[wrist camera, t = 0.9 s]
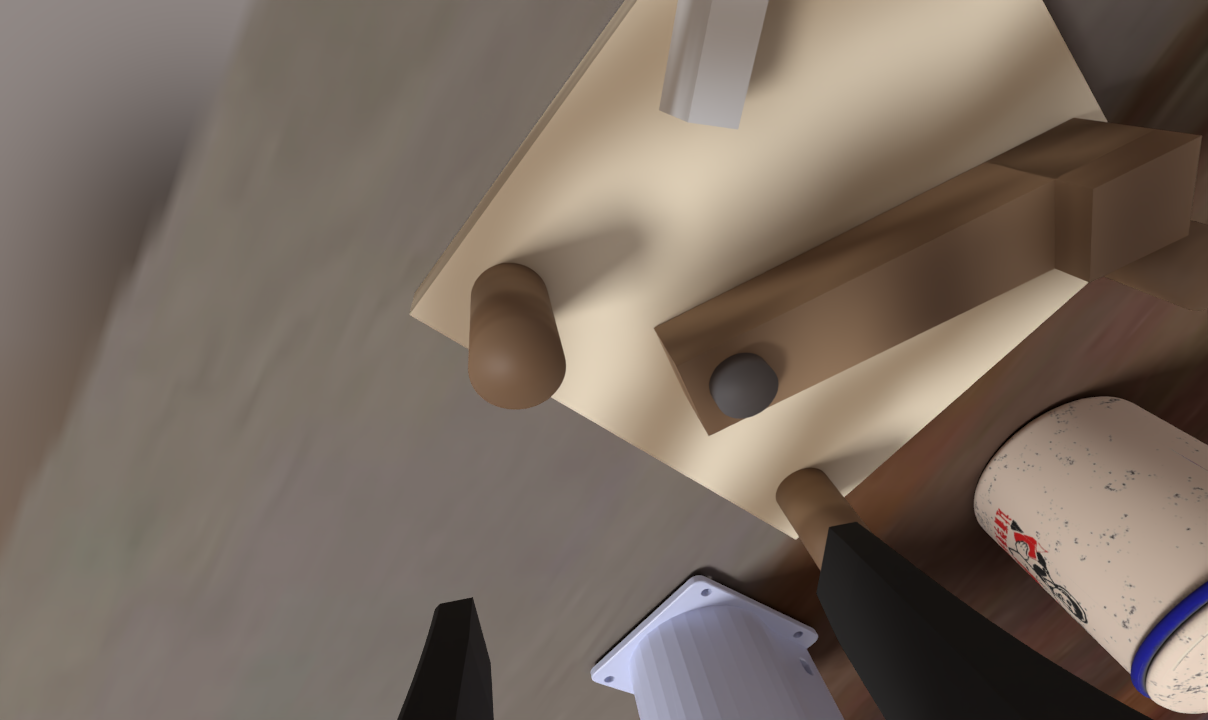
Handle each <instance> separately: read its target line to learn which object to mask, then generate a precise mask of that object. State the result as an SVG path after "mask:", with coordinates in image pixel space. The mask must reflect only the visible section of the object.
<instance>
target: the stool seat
mask: <svg viewBox="0 0 1208 720" xmlns="http://www.w3.org/2000/svg"><path fill="white" fill-rule="evenodd" d="M1072 118H1080V119H1088V120H1095V121H1102V122H1107V120H1106V118H1105V116H1104V114H1103V112H1102V110H1101V109H1100V107H1099V105H1098V103H1097V101H1096V99H1095V97H1094V96H1093V94H1092V92H1091V90H1090V88H1089V86H1088V84H1087V82H1086V81H1085V79H1084V77H1083V75H1082V73H1081V71H1080V69H1079V68H1078V66H1077V64H1076V62H1075V60H1074V58H1073V56H1072V54H1071V53H1070V51H1069V49H1068V47H1067V45H1066V43H1065V41H1064V40H1063V38H1062V36H1061V34H1060V32H1059V30H1058V28H1057V27H1056V25H1055V23H1054V21H1053V19H1052V17H1051V15H1050V13H1049V12H1048V10H1047V8H1046V6H1045V4H1044V2H1043V0H625V1H624V2H623V4H622V5H621V6H620V8H619V9H618V11H617V12H616V13H615V15H614V16H613V18H612V19H611V20H610V22H609V23H608V25H607V26H606V27H605V29H604V30H603V32H602V33H601V34H600V36H599V37H598V39H597V40H596V41H595V43H594V44H593V45H592V47H591V48H590V50H589V51H588V52H587V54H586V55H585V57H584V58H583V59H582V61H581V62H580V64H579V65H578V66H577V68H576V69H575V71H574V72H573V73H572V75H571V76H570V78H569V79H568V80H567V82H566V83H565V84H564V86H563V87H562V89H561V90H560V91H559V93H558V94H557V96H556V97H555V98H554V100H553V101H552V103H551V104H550V105H549V107H548V108H547V110H546V111H545V112H544V114H543V115H542V117H541V118H540V119H539V121H538V122H537V123H536V125H535V126H534V128H533V129H532V130H531V132H530V133H529V135H528V136H527V137H526V139H525V140H524V142H523V143H522V144H521V146H520V147H519V149H518V150H517V151H516V153H515V154H514V156H513V157H512V158H511V160H510V161H509V163H508V164H507V165H506V167H505V168H504V169H503V171H502V172H501V174H500V175H499V176H498V178H497V179H496V181H495V182H494V183H493V185H492V186H491V188H490V189H489V190H488V192H487V193H486V195H485V196H484V197H483V199H482V200H481V202H480V203H479V204H478V206H477V207H476V208H475V210H474V211H473V213H472V214H471V215H470V217H469V218H468V220H467V221H466V222H465V224H464V225H463V227H462V228H461V229H460V231H459V232H458V234H457V235H456V236H455V238H454V239H453V241H452V242H451V243H450V245H449V246H448V247H447V249H446V250H445V252H444V253H443V254H442V256H441V257H440V259H439V260H438V261H437V263H436V264H435V266H434V267H433V268H432V270H431V271H430V273H429V274H428V275H427V277H426V278H425V280H424V281H423V282H422V284H421V285H420V286H419V288H418V289H417V291H416V292H415V295H414V299H413V303H412V307H411V311H410V315H411V316H413V317H414V318H416V319H418V320H419V321H421V322H423V323H425V324H426V325H428V326H430V327H431V328H433V329H435V330H437V331H438V332H440V333H442V334H443V335H445V336H447V337H449V338H450V339H452V340H454V341H456V342H457V343H459V344H461V345H462V346H464V347H466V348H468V349H469V360H468V373H469V378H470V381H471V384H472V386H473V388H474V389H475V391H476V392H477V393H478V394H479V395H480V396H481V397H482V398H483V399H484V400H486V401H487V402H489V403H491V404H493V405H495V406H498V407H501V408H506V409H526V408H530V407H533V406H536V405H538V404H541V403H543V402H544V401H546V400H547V399H549V398H550V397H552V398H553V399H555V400H557V401H559V402H560V403H562V404H564V405H565V406H567V407H569V408H571V409H572V410H574V411H576V412H577V413H579V414H581V415H583V416H584V417H586V418H588V419H590V420H591V421H593V422H595V423H596V424H598V425H600V426H602V427H603V428H605V429H607V430H608V431H610V432H612V433H614V434H615V435H617V436H619V437H620V438H622V439H624V440H626V441H627V442H629V443H631V444H632V445H634V446H636V447H638V448H639V449H641V450H643V451H644V452H646V453H648V454H650V455H651V456H653V457H655V458H657V459H658V460H660V461H662V462H663V463H665V464H667V465H669V466H670V467H672V468H674V469H675V470H677V471H679V472H681V473H682V474H684V475H686V476H687V477H689V478H691V479H693V480H694V481H696V482H698V483H699V484H701V485H703V486H705V487H706V488H708V489H710V490H712V491H713V492H715V493H717V494H718V495H720V496H722V497H724V498H725V499H727V500H729V501H730V502H732V503H734V504H736V505H737V506H739V507H741V508H742V509H744V510H746V511H748V512H749V513H751V514H753V515H754V516H756V517H758V518H760V519H761V520H763V521H765V522H766V523H768V524H770V525H772V526H773V527H775V528H777V529H779V530H780V531H782V532H784V533H785V534H787V535H789V536H791V537H792V538H794V539H797V538H798V537H799V538H800V539H801V541H802V543H803V544H804V546H805V547H806V549H807V550H808V552H809V554H810V555H811V557H812V558H813V560H814V561H815V563H816V565H817V566H818V568H819V569H820V571H821V566H822V561H823V556H824V550H825V545H826V539H827V534H828V529H829V527H831V526H836V525H841V524H846V523H852V522H858V523H859V524H860V525H862V526H863V527H864V528H866V529H867V530H868V531H870V530H869V528H868V527H867V526H866V525H865V523H864V522H863V521H862V519H861V518H860V517H859V516H858V514H857V513H856V512H855V511H854V509H853V508H852V507H851V506H850V504H849V503H848V502H847V500H846V499H845V498H844V497H845V496H846V495H847V494H848V493H849V492H850V491H852V490H853V489H854V488H855V487H856V486H857V485H858V484H860V483H861V482H862V481H863V480H864V479H865V478H866V477H868V476H869V475H870V474H871V473H872V472H873V471H874V470H876V469H877V468H878V467H879V466H880V465H881V464H882V463H883V462H885V461H886V460H887V459H888V458H889V457H890V456H891V455H893V454H894V453H895V452H896V451H897V450H898V449H899V448H901V447H902V446H903V445H904V444H905V443H906V442H907V441H909V440H910V439H911V438H912V437H913V436H914V435H915V434H917V433H918V432H919V431H920V430H921V429H922V428H923V427H924V426H926V425H927V424H928V423H929V422H930V421H931V420H932V419H934V418H935V417H936V416H937V415H938V414H939V413H940V412H942V411H943V410H944V409H945V408H946V407H947V406H948V405H950V404H951V403H952V402H953V401H954V400H955V399H956V398H957V397H959V396H960V395H961V394H962V393H963V392H964V391H965V390H967V389H968V388H969V387H970V386H971V385H972V384H973V383H975V382H976V381H977V380H978V379H979V378H980V377H981V376H983V375H984V374H985V373H986V372H987V371H988V370H989V369H990V368H992V367H993V366H994V365H995V364H996V363H997V362H998V361H1000V360H1001V359H1002V358H1003V357H1004V356H1005V355H1006V354H1008V353H1009V352H1010V351H1011V350H1012V349H1013V348H1014V347H1016V346H1017V345H1018V344H1019V343H1020V342H1021V341H1022V340H1024V339H1025V338H1026V337H1027V336H1028V335H1029V334H1030V333H1031V332H1033V331H1034V330H1035V329H1036V328H1037V327H1038V326H1039V325H1041V324H1042V323H1043V322H1044V321H1045V320H1046V319H1047V318H1049V317H1050V316H1051V315H1052V314H1053V313H1054V312H1055V311H1057V310H1058V309H1059V308H1060V307H1061V306H1062V305H1063V304H1064V303H1066V302H1067V301H1068V300H1069V299H1070V298H1071V297H1072V296H1074V295H1075V294H1076V293H1077V292H1078V291H1079V290H1080V289H1082V288H1083V287H1084V286H1085V285H1086V284H1087V283H1088V282H1087V281H1084V280H1082V279H1079V278H1077V277H1074V276H1072V275H1069V274H1067V273H1065V272H1062V271H1060V270H1057V269H1053V270H1051V271H1049V272H1047V273H1045V274H1043V275H1041V276H1039V277H1036V278H1034V279H1032V280H1030V281H1028V282H1026V283H1024V284H1022V285H1020V286H1018V287H1016V288H1014V289H1012V290H1010V291H1008V292H1006V293H1003V294H1001V295H999V296H997V297H995V298H993V299H991V300H989V301H987V302H985V303H983V304H981V305H979V306H977V307H975V308H973V309H970V310H968V311H966V312H964V313H962V314H960V315H958V316H956V317H954V318H952V319H950V320H948V321H946V322H944V323H942V324H940V325H937V326H935V327H933V328H931V329H929V330H927V331H925V332H923V333H921V334H919V335H917V336H915V337H913V338H911V339H909V340H906V341H904V342H902V343H900V344H898V345H896V346H894V347H892V348H890V349H888V350H886V351H884V352H882V353H880V354H878V355H876V356H873V357H871V358H869V359H867V360H865V361H863V362H861V363H859V364H857V365H855V366H853V367H851V368H849V369H847V370H845V371H843V372H840V373H838V374H836V375H834V376H832V377H830V378H828V379H826V380H824V381H822V382H820V383H818V384H816V385H814V386H812V387H810V388H807V389H805V390H803V391H801V392H799V393H797V394H795V395H793V396H791V397H789V398H787V399H785V400H783V401H781V402H779V403H776V404H774V405H772V406H770V407H768V408H766V409H765V410H763V411H762V412H760V413H759V414H757V415H755V416H752V417H749V418H746V419H743V420H741V421H739V422H737V423H735V424H733V425H731V426H729V427H727V428H725V429H723V430H721V431H719V432H717V433H715V434H713V435H710V436H708V434H707V432H706V431H705V429H704V427H703V425H702V424H701V422H700V420H699V418H698V417H697V415H696V413H695V411H694V410H693V408H692V406H691V404H690V403H689V401H688V399H687V397H686V396H685V394H684V392H683V390H682V387H681V385H680V383H679V381H678V379H677V377H676V375H675V373H674V370H673V368H672V366H671V364H670V362H669V360H668V358H667V355H666V353H665V351H664V349H663V347H662V345H661V343H660V340H659V338H658V336H657V334H656V332H655V330H654V328H655V327H657V326H659V325H661V324H663V323H665V322H667V321H669V320H671V319H673V318H675V317H677V316H679V315H681V314H683V313H685V312H687V311H689V310H691V309H693V308H695V307H697V306H699V305H701V304H703V303H705V302H707V301H709V300H711V299H713V298H715V297H717V296H719V295H721V294H723V293H725V292H727V291H729V290H731V289H733V288H735V287H737V286H739V285H741V284H743V283H745V282H747V281H749V280H751V279H753V278H755V277H757V276H759V275H761V274H763V273H765V272H767V271H769V270H771V269H773V268H775V267H777V266H779V265H781V264H783V263H785V262H787V261H789V260H791V259H793V258H795V257H797V256H799V255H801V254H803V253H805V252H807V251H809V250H811V249H813V248H815V247H817V246H819V245H821V244H823V243H825V242H827V241H829V240H831V239H833V238H835V237H837V236H839V235H840V234H842V233H844V232H846V231H848V230H850V229H852V228H854V227H856V226H858V225H860V224H862V223H864V222H866V221H868V220H870V219H872V218H874V217H876V216H878V215H880V214H882V213H884V212H886V211H888V210H890V209H892V208H894V207H896V206H898V205H900V204H902V203H904V202H906V201H908V200H910V199H912V198H914V197H916V196H918V195H920V194H922V193H924V192H926V191H928V190H930V189H932V188H934V187H936V186H938V185H940V184H942V183H944V182H946V181H948V180H950V179H952V178H954V177H956V176H958V175H960V174H962V173H964V172H966V171H968V170H970V169H972V168H974V167H976V166H978V165H980V164H982V163H984V162H986V161H988V160H990V159H992V158H994V157H996V156H998V155H1000V154H1002V153H1004V152H1006V151H1008V150H1010V149H1012V148H1014V147H1016V146H1018V145H1020V144H1022V143H1024V142H1026V141H1028V140H1030V139H1032V138H1034V137H1036V136H1038V135H1040V134H1042V133H1044V132H1046V131H1048V130H1050V129H1052V128H1054V127H1056V126H1058V125H1060V124H1062V123H1064V122H1066V121H1068V120H1070V119H1072ZM1103 277H1106V278H1108V279H1111V280H1114V281H1116V282H1119V283H1121V284H1124V285H1126V286H1129V287H1132V288H1134V289H1137V290H1139V291H1142V292H1145V293H1147V294H1150V295H1152V296H1155V297H1157V298H1160V299H1163V300H1165V301H1168V302H1170V303H1173V304H1175V305H1178V306H1181V307H1183V308H1186V309H1188V310H1192V311H1202V310H1206V309H1208V225H1207V224H1203V223H1199V222H1196V221H1192V220H1191V221H1190V228H1189V235H1188V236H1186V237H1184V238H1182V239H1180V240H1178V241H1176V242H1174V243H1171V244H1169V245H1167V246H1165V247H1163V248H1161V249H1159V250H1157V251H1155V252H1153V253H1151V254H1149V255H1146V256H1144V257H1142V258H1140V259H1138V260H1136V261H1134V262H1132V263H1130V264H1128V265H1126V266H1124V267H1122V268H1119V269H1117V270H1115V271H1113V272H1111V273H1109V274H1107V275H1105V276H1103ZM870 532H871V531H870ZM871 533H872V532H871ZM872 534H873V533H872Z"/></svg>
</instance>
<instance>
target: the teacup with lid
mask: <svg viewBox="0 0 1208 720" xmlns="http://www.w3.org/2000/svg"><path fill="white" fill-rule="evenodd" d="M974 511H975V515H976V518H977V521H978V522H979V524H980V526H981V527H982V528H983V529H984V530H985V531H986V532H987V533H988V534H989V535H990V536H991V537H992V538H993V539H994V540H995V541H996V542H997V543H998V544H999V545H1000V546H1001V547H1002V548H1003V549H1004V550H1005V551H1006V552H1007V553H1008V554H1009V555H1010V556H1011V557H1012V558H1013V559H1014V560H1015V561H1016V562H1017V563H1018V564H1019V565H1020V566H1021V567H1022V568H1023V569H1024V570H1025V571H1026V572H1027V573H1028V574H1029V575H1030V576H1031V577H1032V578H1033V579H1034V580H1035V581H1036V582H1037V583H1038V584H1039V585H1040V586H1041V587H1042V588H1044V589H1045V590H1046V591H1047V592H1048V593H1049V594H1050V595H1051V596H1052V597H1053V598H1054V599H1055V600H1056V601H1057V602H1058V603H1059V604H1060V605H1061V606H1062V607H1063V608H1064V609H1065V610H1066V611H1067V612H1068V613H1069V614H1070V615H1071V616H1072V617H1073V618H1074V619H1075V620H1076V621H1077V622H1078V623H1079V624H1080V625H1081V626H1082V627H1083V628H1084V629H1085V630H1086V631H1087V632H1088V633H1089V634H1090V635H1091V636H1092V637H1093V638H1094V639H1095V640H1096V641H1097V642H1098V643H1099V644H1100V645H1101V646H1103V647H1104V648H1105V649H1106V650H1107V651H1108V652H1109V653H1110V654H1111V655H1112V656H1113V657H1114V658H1115V659H1116V660H1117V661H1118V662H1119V663H1120V664H1121V665H1122V666H1123V667H1124V668H1125V669H1126V670H1127V671H1128V672H1129V673H1130V674H1131V680H1132V683H1133V685H1134V686H1135V688H1136V689H1137V690H1138V691H1139V692H1140V693H1141V694H1143V695H1144V696H1146V697H1148V698H1150V699H1152V700H1153V701H1155V702H1156V703H1157V704H1159V705H1161V706H1163V707H1165V708H1168V709H1170V710H1173V711H1177V712H1181V713H1206V712H1208V445H1206V444H1204V443H1203V442H1201V441H1199V440H1197V439H1196V438H1194V437H1192V436H1190V435H1189V434H1187V433H1185V432H1183V431H1181V430H1180V429H1178V428H1176V427H1174V426H1173V425H1171V424H1169V423H1167V422H1166V421H1164V420H1162V419H1160V418H1158V417H1157V416H1155V415H1153V414H1151V413H1150V412H1148V411H1146V410H1144V409H1142V408H1141V407H1139V406H1137V405H1135V404H1134V403H1132V402H1129V401H1127V400H1124V399H1121V398H1116V397H1108V396H1100V397H1089V398H1084V399H1080V400H1076V401H1072V402H1069V403H1067V404H1064V405H1062V406H1059V407H1057V408H1054V409H1052V410H1050V411H1048V412H1046V413H1045V414H1043V415H1041V416H1039V417H1038V418H1036V419H1034V420H1033V421H1031V422H1030V423H1028V424H1027V425H1026V426H1024V427H1023V428H1022V429H1020V430H1019V431H1018V432H1017V433H1015V434H1014V435H1013V436H1012V437H1011V438H1010V439H1009V440H1008V441H1007V442H1006V443H1005V444H1004V445H1003V446H1002V447H1001V448H1000V449H999V450H998V451H997V453H996V454H995V455H994V456H993V458H992V459H991V460H990V462H989V463H988V465H987V466H986V468H985V470H984V471H983V473H982V475H981V477H980V479H979V482H978V484H977V487H976V491H975V495H974Z"/></svg>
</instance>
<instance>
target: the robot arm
mask: <svg viewBox="0 0 1208 720" xmlns="http://www.w3.org/2000/svg"><path fill="white" fill-rule="evenodd" d="M817 596H818V598H819V600H820V602H821V605H822V607H823V609H824V611H825V613H826V616H827V618H828V620H829V622H830V624H831V626H832V628H833V631H834V633H835V635H836V637H837V639H838V641H839V643H840V645H841V646H842V648H843V650H844V652H845V653H846V655H847V657H848V658H849V660H850V662H851V663H852V665H853V667H854V668H855V670H856V671H857V673H858V675H859V676H860V678H861V680H862V681H863V683H864V685H865V686H866V688H867V690H868V691H869V693H870V695H871V696H872V698H873V699H874V701H875V703H876V704H877V706H878V708H879V709H880V711H881V712H882V714H883V716H884V717H885V719H886V720H1153V719H1151V718H1149V717H1147V716H1145V715H1143V714H1142V713H1140V712H1138V711H1136V710H1134V709H1132V708H1130V707H1129V706H1127V705H1125V704H1123V703H1121V702H1120V701H1118V700H1116V699H1114V698H1113V697H1111V696H1109V695H1107V694H1105V693H1104V692H1102V691H1100V690H1098V689H1097V688H1095V687H1093V686H1092V685H1090V684H1088V683H1087V682H1085V681H1083V680H1082V679H1080V678H1078V677H1077V676H1075V675H1073V674H1072V673H1070V672H1068V671H1067V670H1065V669H1063V668H1062V667H1060V666H1058V665H1057V664H1055V663H1053V662H1052V661H1050V660H1049V659H1047V658H1045V657H1044V656H1042V655H1041V654H1039V653H1038V652H1036V651H1034V650H1033V649H1031V648H1030V647H1028V646H1027V645H1025V644H1024V643H1022V642H1021V641H1019V640H1018V639H1016V638H1015V637H1013V636H1012V635H1010V634H1009V633H1007V632H1006V631H1004V630H1003V629H1001V628H1000V627H998V626H997V625H995V624H994V623H992V622H991V621H989V620H988V619H987V618H985V617H984V616H982V615H981V614H979V613H978V612H977V611H975V610H974V609H972V608H971V607H969V606H968V605H967V604H965V603H964V602H963V601H961V600H960V599H958V598H957V597H956V596H954V595H953V594H952V593H950V592H949V591H947V590H946V589H945V588H943V587H942V586H941V585H939V584H938V583H937V582H935V581H934V580H933V579H931V578H930V577H928V576H927V575H926V574H924V573H923V572H922V571H921V570H919V569H918V568H917V567H915V566H914V565H913V564H911V563H910V562H909V561H907V560H906V559H905V558H903V557H902V556H901V555H900V554H898V553H897V552H896V551H894V550H893V549H892V548H890V547H889V546H888V545H887V544H885V543H884V542H883V541H881V540H880V539H879V538H878V537H876V536H875V535H874V534H872V533H871V532H870V531H868V530H867V529H866V528H864V527H863V526H862V525H860V524H859V523H858V522H852V523H846V524H841V525H836V526H831V527H829V529H828V534H827V539H826V545H825V550H824V556H823V561H822V566H821V572H820V577H819V582H818V588H817ZM817 639H818V634H817V633H816V631H815V629H813V628H811V627H809V626H807V625H805V624H803V623H801V622H799V621H797V620H795V619H793V618H791V617H788V616H786V615H784V614H782V613H780V612H778V611H776V610H774V609H772V608H770V607H768V606H765V605H763V604H761V603H759V602H757V601H755V600H753V599H751V598H749V597H747V596H745V595H742V594H740V593H738V592H736V591H734V590H732V589H730V588H728V587H726V586H724V585H722V584H720V583H717V582H715V581H713V580H711V579H709V578H707V577H705V576H702V575H696V576H693V577H692V578H690V579H689V580H688V581H687V582H686V583H684V584H683V585H682V586H681V587H680V588H679V589H678V590H677V591H676V592H675V593H674V594H672V595H671V596H670V597H669V598H668V599H667V600H666V601H665V602H664V603H663V604H662V605H660V606H659V607H658V608H657V609H656V610H655V611H654V612H653V613H652V614H651V615H650V616H648V617H647V618H646V619H645V620H644V621H643V622H642V623H641V624H640V625H639V626H638V627H636V628H635V629H634V630H633V631H632V632H631V633H630V634H629V635H628V636H627V637H626V638H625V639H623V640H622V641H621V642H620V643H619V644H618V645H617V646H616V647H615V648H614V649H613V650H611V651H610V652H609V653H608V654H607V655H606V656H605V657H604V658H603V659H602V660H601V661H599V662H598V663H597V664H596V665H595V666H594V667H593V668H592V669H591V677H592V680H593V681H595V682H597V683H600V684H603V685H607V686H610V687H613V688H616V689H619V690H622V691H625V692H629V693H632V694H634V695H635V699H636V703H637V707H638V712H639V716H640V720H844V718H843V716H842V714H841V713H840V711H839V709H838V707H837V705H836V703H835V701H834V699H833V698H832V696H831V694H830V692H829V690H828V688H827V686H826V684H825V683H824V681H823V679H822V677H821V675H820V673H819V671H818V669H817V667H816V666H815V664H814V662H813V660H812V658H811V656H810V654H809V652H808V651H807V648H808V647H810V646H811V645H812V644H813V643H815V642H816V641H817ZM397 720H494V718H493V697H492V679H491V663H490V659H489V655H488V652H487V648H486V644H485V641H484V637H483V633H482V630H481V626H480V622H479V619H478V615H477V611H476V608H475V604H474V600H473V597H472V598H467V599H462V600H457V601H452V602H447V603H442V604H439V606H438V607H437V608H436V609H435V611H434V615H433V619H432V623H431V626H430V629H429V633H428V636H427V639H426V643H425V646H424V649H423V652H422V655H421V658H420V661H419V664H418V666H417V669H416V672H415V675H414V678H413V681H412V683H411V686H410V689H409V691H408V694H407V696H406V699H405V701H404V704H403V707H402V709H401V712H400V714H399V717H398V719H397Z"/></svg>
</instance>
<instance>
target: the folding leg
mask: <svg viewBox="0 0 1208 720" xmlns="http://www.w3.org/2000/svg"><path fill="white" fill-rule="evenodd" d="M1201 141H1202V135H1195V134H1188V133H1181V132H1173V131H1166V130H1159V129H1152V128H1145V127H1138V126H1130V125H1123V124H1116V123H1109V122H1102V121H1095V120H1088V119H1080V118H1072V119H1070V120H1068V121H1066V122H1064V123H1062V124H1060V125H1058V126H1056V127H1054V128H1052V129H1050V130H1048V131H1046V132H1044V133H1042V134H1040V135H1038V136H1036V137H1034V138H1032V139H1030V140H1028V141H1026V142H1024V143H1022V144H1020V145H1018V146H1016V147H1014V148H1012V149H1010V150H1008V151H1006V152H1004V153H1002V154H1000V155H998V156H996V157H994V158H992V159H990V160H988V161H986V162H984V163H982V164H980V165H978V166H976V167H974V168H972V169H970V170H968V171H966V172H964V173H962V174H960V175H958V176H956V177H954V178H952V179H950V180H948V181H946V182H944V183H942V184H940V185H938V186H936V187H934V188H932V189H930V190H928V191H926V192H924V193H922V194H920V195H918V196H916V197H914V198H912V199H910V200H908V201H906V202H904V203H902V204H900V205H898V206H896V207H894V208H892V209H890V210H888V211H886V212H884V213H882V214H880V215H878V216H876V217H874V218H872V219H870V220H868V221H866V222H864V223H862V224H860V225H858V226H856V227H854V228H852V229H850V230H848V231H846V232H844V233H842V234H840V235H839V236H837V237H835V238H833V239H831V240H829V241H827V242H825V243H823V244H821V245H819V246H817V247H815V248H813V249H811V250H809V251H807V252H805V253H803V254H801V255H799V256H797V257H795V258H793V259H791V260H789V261H787V262H785V263H783V264H781V265H779V266H777V267H775V268H773V269H771V270H769V271H767V272H765V273H763V274H761V275H759V276H757V277H755V278H753V279H751V280H749V281H747V282H745V283H743V284H741V285H739V286H737V287H735V288H733V289H731V290H729V291H727V292H725V293H723V294H721V295H719V296H717V297H715V298H713V299H711V300H709V301H707V302H705V303H703V304H701V305H699V306H697V307H695V308H693V309H691V310H689V311H687V312H685V313H683V314H681V315H679V316H677V317H675V318H673V319H671V320H669V321H667V322H665V323H663V324H661V325H659V326H657V327H655V328H654V330H655V332H656V334H657V336H658V338H659V340H660V343H661V345H662V347H663V349H664V351H665V353H666V355H667V358H668V360H669V362H670V364H671V366H672V368H673V370H674V373H675V375H676V377H677V379H678V381H679V383H680V385H681V387H682V390H683V392H684V394H685V396H686V397H687V399H688V401H689V403H690V404H691V406H692V408H693V410H694V411H695V413H696V415H697V417H698V418H699V420H700V422H701V424H702V425H703V427H704V429H705V431H706V432H707V434H708V436H710V435H713V434H715V433H717V432H719V431H721V430H723V429H725V428H727V427H729V426H731V425H733V424H735V423H737V422H739V421H741V420H743V419H746V418H749V417H752V416H755V415H757V414H759V413H760V412H762V411H763V410H765V409H766V408H768V407H770V406H772V405H774V404H776V403H779V402H781V401H783V400H785V399H787V398H789V397H791V396H793V395H795V394H797V393H799V392H801V391H803V390H805V389H807V388H810V387H812V386H814V385H816V384H818V383H820V382H822V381H824V380H826V379H828V378H830V377H832V376H834V375H836V374H838V373H840V372H843V371H845V370H847V369H849V368H851V367H853V366H855V365H857V364H859V363H861V362H863V361H865V360H867V359H869V358H871V357H873V356H876V355H878V354H880V353H882V352H884V351H886V350H888V349H890V348H892V347H894V346H896V345H898V344H900V343H902V342H904V341H906V340H909V339H911V338H913V337H915V336H917V335H919V334H921V333H923V332H925V331H927V330H929V329H931V328H933V327H935V326H937V325H940V324H942V323H944V322H946V321H948V320H950V319H952V318H954V317H956V316H958V315H960V314H962V313H964V312H966V311H968V310H970V309H973V308H975V307H977V306H979V305H981V304H983V303H985V302H987V301H989V300H991V299H993V298H995V297H997V296H999V295H1001V294H1003V293H1006V292H1008V291H1010V290H1012V289H1014V288H1016V287H1018V286H1020V285H1022V284H1024V283H1026V282H1028V281H1030V280H1032V279H1034V278H1036V277H1039V276H1041V275H1043V274H1045V273H1047V272H1049V271H1051V270H1053V269H1057V270H1060V271H1062V272H1065V273H1067V274H1069V275H1072V276H1074V277H1077V278H1079V279H1082V280H1084V281H1087V282H1089V283H1090V282H1092V281H1095V280H1097V279H1099V278H1101V277H1103V276H1105V275H1107V274H1109V273H1111V272H1113V271H1115V270H1117V269H1119V268H1122V267H1124V266H1126V265H1128V264H1130V263H1132V262H1134V261H1136V260H1138V259H1140V258H1142V257H1144V256H1146V255H1149V254H1151V253H1153V252H1155V251H1157V250H1159V249H1161V248H1163V247H1165V246H1167V245H1169V244H1171V243H1174V242H1176V241H1178V240H1180V239H1182V238H1184V237H1186V236H1188V235H1189V228H1190V221H1191V213H1192V206H1193V199H1194V192H1195V184H1196V177H1197V170H1198V162H1199V155H1200V148H1201Z"/></svg>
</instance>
